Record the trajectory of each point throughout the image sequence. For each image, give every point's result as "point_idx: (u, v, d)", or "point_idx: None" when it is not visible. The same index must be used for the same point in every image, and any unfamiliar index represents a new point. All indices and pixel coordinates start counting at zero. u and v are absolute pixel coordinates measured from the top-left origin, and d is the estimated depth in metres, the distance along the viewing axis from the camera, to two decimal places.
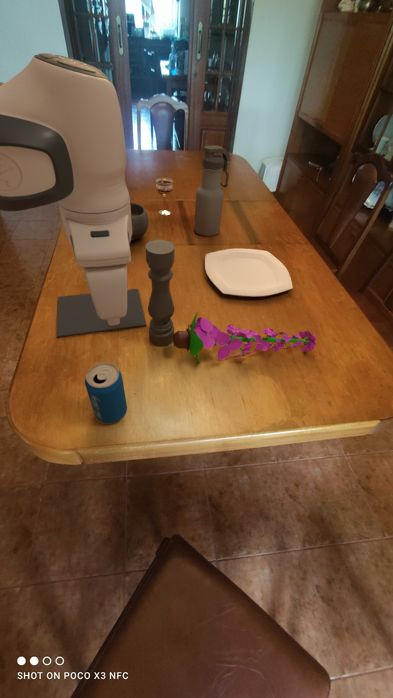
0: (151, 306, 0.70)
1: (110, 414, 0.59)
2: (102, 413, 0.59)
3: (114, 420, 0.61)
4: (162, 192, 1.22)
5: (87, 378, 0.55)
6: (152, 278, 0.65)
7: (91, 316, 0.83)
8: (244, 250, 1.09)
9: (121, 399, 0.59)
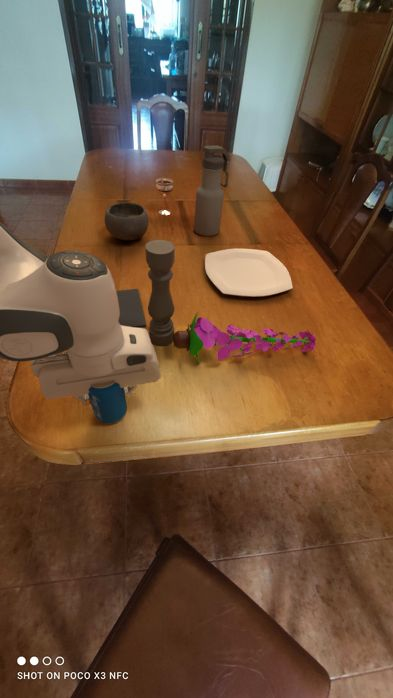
0: (151, 306, 0.70)
1: (110, 414, 0.59)
2: (102, 413, 0.59)
3: (114, 420, 0.61)
4: (162, 192, 1.22)
5: None
6: (152, 278, 0.65)
7: None
8: (244, 250, 1.09)
9: (121, 399, 0.59)
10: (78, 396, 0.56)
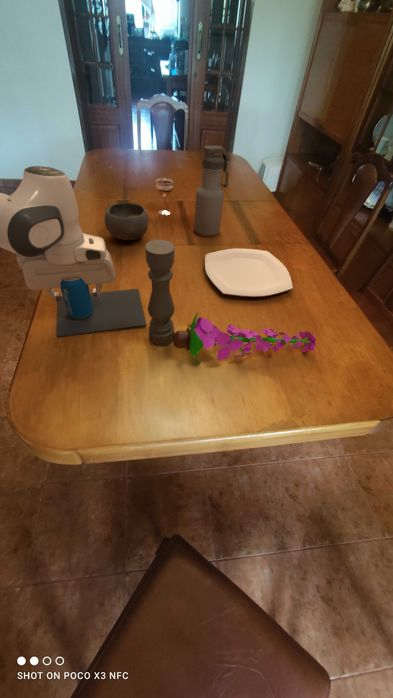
0: (151, 306, 0.70)
1: (78, 308, 0.79)
2: (72, 307, 0.78)
3: (82, 315, 0.80)
4: (162, 192, 1.22)
5: None
6: (152, 278, 0.65)
7: (91, 316, 0.83)
8: (244, 250, 1.09)
9: (86, 296, 0.78)
10: (49, 290, 0.76)
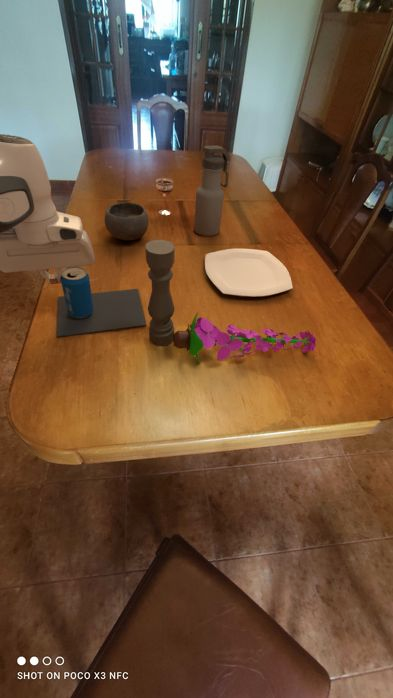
0: (151, 306, 0.70)
1: (79, 308, 0.79)
2: (73, 306, 0.78)
3: (82, 315, 0.80)
4: (162, 192, 1.22)
5: (62, 274, 0.74)
6: (152, 278, 0.65)
7: (91, 316, 0.83)
8: (244, 250, 1.09)
9: (87, 295, 0.78)
10: (43, 272, 0.72)
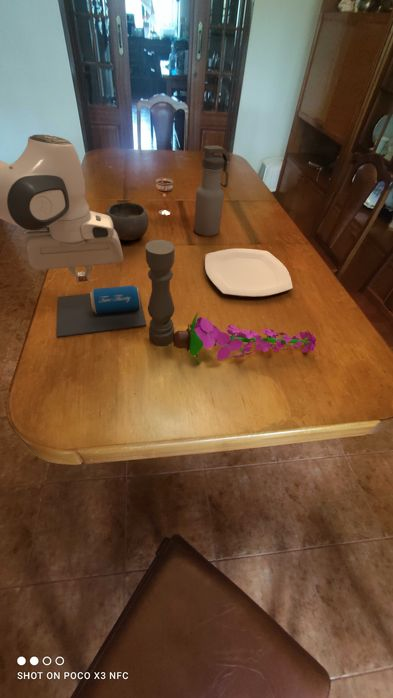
0: (151, 306, 0.70)
1: (108, 308, 0.81)
2: (108, 303, 0.80)
3: (98, 310, 0.81)
4: (162, 192, 1.22)
5: (137, 290, 0.82)
6: (152, 278, 0.65)
7: (91, 316, 0.83)
8: (244, 250, 1.09)
9: (120, 311, 0.84)
10: (73, 269, 0.73)
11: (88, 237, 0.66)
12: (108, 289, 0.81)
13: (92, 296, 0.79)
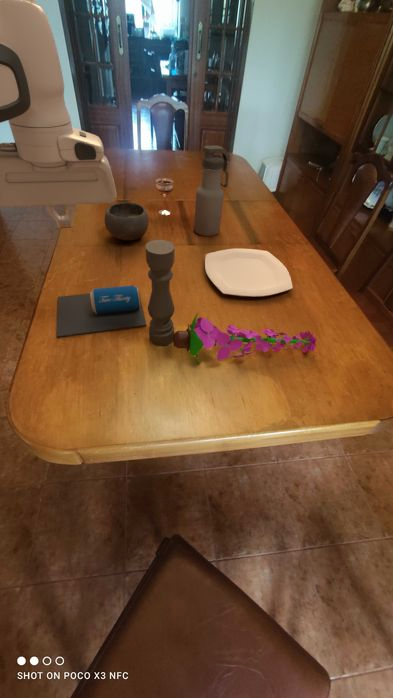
0: (151, 306, 0.70)
1: (108, 308, 0.81)
2: (108, 303, 0.80)
3: (98, 310, 0.81)
4: (162, 192, 1.22)
5: (137, 290, 0.82)
6: (152, 278, 0.65)
7: (91, 316, 0.83)
8: (244, 250, 1.09)
9: (120, 311, 0.84)
10: (51, 210, 0.57)
11: (69, 158, 0.49)
12: (108, 289, 0.81)
13: (92, 296, 0.79)
